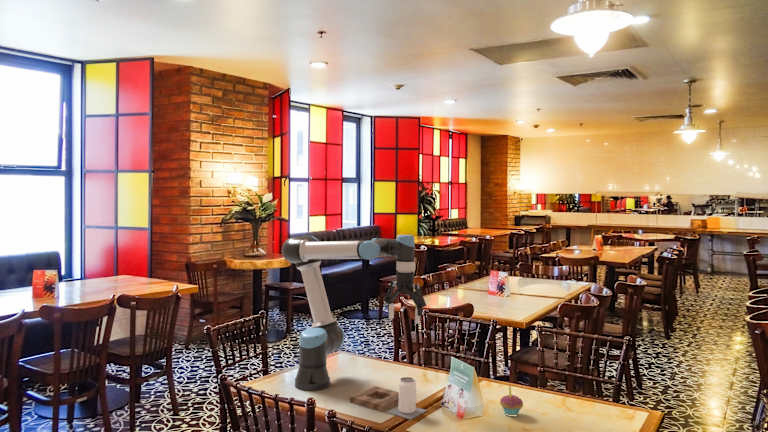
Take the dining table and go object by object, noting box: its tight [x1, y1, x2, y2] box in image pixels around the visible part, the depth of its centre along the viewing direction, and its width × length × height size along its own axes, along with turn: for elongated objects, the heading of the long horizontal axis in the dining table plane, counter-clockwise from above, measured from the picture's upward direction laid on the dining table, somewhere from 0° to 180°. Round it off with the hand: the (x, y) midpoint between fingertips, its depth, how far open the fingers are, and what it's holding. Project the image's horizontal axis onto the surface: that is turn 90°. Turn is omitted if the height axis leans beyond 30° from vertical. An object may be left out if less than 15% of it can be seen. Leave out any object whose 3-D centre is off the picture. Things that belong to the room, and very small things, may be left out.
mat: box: [386, 405, 428, 421], centre depth 217 cm, size 11×11×1 cm
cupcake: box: [499, 385, 524, 415], centre depth 216 cm, size 9×8×12 cm
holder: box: [349, 385, 399, 413], centre depth 227 cm, size 16×16×2 cm
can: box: [398, 376, 417, 414], centre depth 217 cm, size 6×6×12 cm
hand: (404, 320), depth 244 cm, fingers open, 13 cm apart
